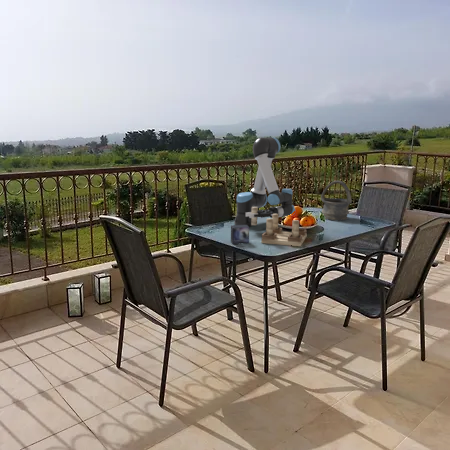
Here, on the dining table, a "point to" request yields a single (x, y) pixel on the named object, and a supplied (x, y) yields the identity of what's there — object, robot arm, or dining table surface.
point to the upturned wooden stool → (283, 233)
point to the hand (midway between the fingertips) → (247, 215)
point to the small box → (239, 234)
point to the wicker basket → (336, 204)
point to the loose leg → (254, 220)
